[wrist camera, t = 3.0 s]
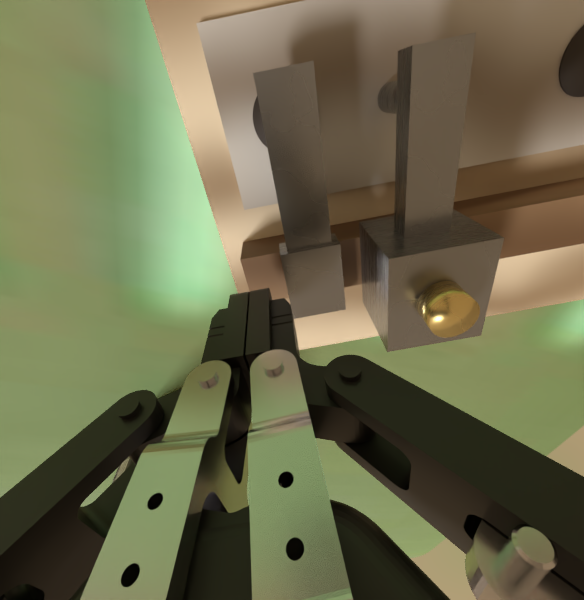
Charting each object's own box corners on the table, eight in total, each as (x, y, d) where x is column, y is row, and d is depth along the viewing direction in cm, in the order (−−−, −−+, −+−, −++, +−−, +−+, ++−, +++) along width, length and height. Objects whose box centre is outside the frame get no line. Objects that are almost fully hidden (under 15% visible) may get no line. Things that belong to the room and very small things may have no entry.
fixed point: (247, 80, 11) (242, 74, 9) (311, 67, 11) (324, 57, 9) (289, 287, 16) (293, 318, 14) (333, 279, 16) (345, 309, 14)
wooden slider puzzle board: (124, -94, 10) (70, -170, 7) (905, -269, 9) (1178, -427, 6) (258, 344, 20) (257, 381, 17) (623, 278, 19) (680, 307, 17)
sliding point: (341, 67, 11) (409, 36, 6) (441, 47, 11) (602, -4, 6) (354, 284, 16) (396, 371, 11) (422, 272, 16) (498, 353, 11)
